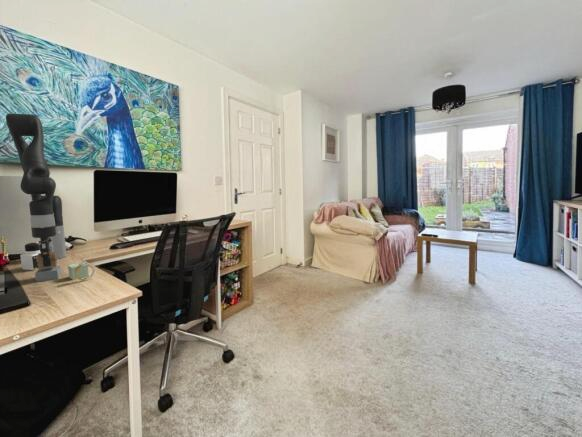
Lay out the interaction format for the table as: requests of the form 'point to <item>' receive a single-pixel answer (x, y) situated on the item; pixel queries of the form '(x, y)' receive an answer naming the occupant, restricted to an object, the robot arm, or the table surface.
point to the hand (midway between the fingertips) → (47, 264)
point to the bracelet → (80, 267)
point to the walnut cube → (52, 260)
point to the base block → (48, 273)
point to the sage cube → (80, 273)
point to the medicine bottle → (30, 256)
